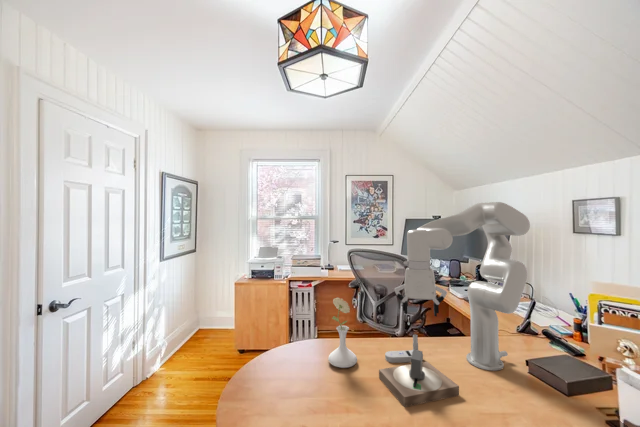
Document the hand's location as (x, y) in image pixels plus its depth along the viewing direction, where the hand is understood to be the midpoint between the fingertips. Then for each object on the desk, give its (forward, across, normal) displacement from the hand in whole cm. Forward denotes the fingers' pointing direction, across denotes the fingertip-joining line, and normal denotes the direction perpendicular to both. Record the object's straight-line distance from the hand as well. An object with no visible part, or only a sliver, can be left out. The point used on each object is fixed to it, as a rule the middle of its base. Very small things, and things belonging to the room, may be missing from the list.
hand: (420, 313), depth 98 cm
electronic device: (+24, -7, +14) cm, 29 cm away
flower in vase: (+23, -30, +4) cm, 38 cm away
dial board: (+23, -2, -4) cm, 24 cm away
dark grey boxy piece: (+20, -2, -5) cm, 21 cm away
